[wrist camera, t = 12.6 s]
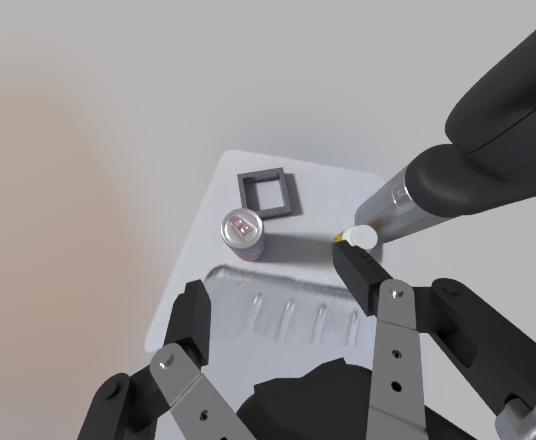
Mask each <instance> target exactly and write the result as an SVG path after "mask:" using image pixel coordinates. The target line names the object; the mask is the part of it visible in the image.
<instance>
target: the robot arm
mask: <svg viewBox="0 0 536 440" xmlns="http://www.w3.org/2000/svg"><path fill="white" fill-rule="evenodd" d="M445 133H446V135H447V137H448V138H449V140H450V141H451V142H452V143H453V144H442V145H437V146H433V147H431V148H429V149H427V150H425V151H424V152H422V153H421V154H420V155H419V156H417V157H416V158H415V159H414V160H413V161H412V162H411V163H409V164H408V165H407V166H406V167H405V168H404V169H402V170H401V171H400V172H399V173H398V174H397V175H396V176H395V177H393V178H392V179H391V180H390V181H389V182H387V183H386V184H385V185H384V186H383V187H382V188H380V189H379V190H378V191H377V192H376V193H375V194H373V195H372V196H371V197H370V198H369V199H368V200H366V201H365V202H364V203H363V204H362V205H361V206H360V207H359V208H358V210H357V211H356V215H355V223H356V225H358V226H360V225H368V226H370V227H372V228H373V229H374V230H375V232H376V233H377V237H378V241H377V243H387V242H390V241H393V240H396V239H398V238H401V237H404V236H407V235H409V234H412V233H415V232H418V231H420V230H423V229H426V228H429V227H431V226H434V225H437V224H440V223H442V222H445V221H448V220H450V219H453V218H456V217H459V216H461V215H473V214H477V213H480V212H483V211H487V210H490V209H493V208H497V207H500V206H503V205H507V204H510V203H514V202H518V201H521V200H525V199H528V198H532V197H536V30H535V31H534V32H533V33H532V34H531V35H530V36H528V37H527V38H526V39H525V40H524V41H523V42H521V43H520V44H519V45H518V46H517V47H516V48H515V49H513V50H512V51H511V52H510V53H509V54H508V55H507V56H505V57H504V58H503V59H502V60H501V61H500V62H499V63H498V64H497V65H495V66H494V67H493V68H492V69H491V70H490V71H488V72H487V73H486V74H485V75H484V76H483V77H482V78H481V79H480V80H479V81H478V82H477V83H476V84H475V85H474V86H473V87H472V88H471V89H470V90H469V91H468V92H467V93H466V94H465V95H464V96H463V97H462V98H461V100H460V101H459V102H458V103H457V104H456V106H455V107H454V109H453V110H452V112H451V113H450V115H449V117H448V119H447V121H446V124H445ZM332 248H333V263H334V267H335V269H336V271H337V273H338V275H339V276H340V277H341V279H342V280H343V282H344V283H345V285H346V286H347V288H348V289H349V291H350V292H351V294H352V295H353V297H354V298H355V299H356V301H357V302H358V304H359V305H360V307H361V308H362V310H363V311H364V313H365V314H366V316H367V317H369V316H372V315H375V317H376V318H377V326H376V336H375V347H374V359H373V371H371V370H369V369H367V368H364V367H362V366H358V365H351V364H346V362H345V360H344V358H343V357H342V358H339V359H336V360H333V361H330V362H326V363H323V364H321V365H319V366H318V367H316V368H315V369H314V370H312V371H311V372H309V373H308V374H306V375H305V376H303V377H301V378H275V379H272V380H269V381H266V382H263V383H260V384H256V385H254V391H255V393H254V394H253V395H251V396H250V397H249V398H248V399H247V400H246V401H245V402H244V403H243V404H242V405H241V407H240V408H239V410H238V411H237V413H236V414H235V413H234V411H233V410H232V409H231V407H230V406H229V405H228V404H227V402H226V401H225V400H224V399H223V398H222V396H221V395H220V394H219V393H218V391H217V390H216V389H215V388H214V387H213V385H212V384H211V383H210V381H209V380H208V379H207V378H206V376H205V375H204V374H203V373H201V367H202V366H205V365H208V357H209V340H210V322H211V301H210V298H209V295H208V293H207V291H206V289H205V287H204V285H203V283H202V281H201V280H200V279H199V280H195V281H192V282H188V283H186V287H185V292H184V293H183V294H179V295H178V297H177V299H176V300H175V302H174V304H173V308H172V313H171V316H170V320H169V324H168V328H167V332H166V336H165V340H164V345H163V347H162V348H161V349H160V350H158V351H157V353H156V354H155V355H154V357H153V358H152V360H151V363H150V364H149V365H148V366H147V367H145V368H143V369H142V370H140V371H138V372H137V373H135V374H133V375H132V376H130V377H129V376H128V375H127V374H125V373H119V374H116V375H114V376H112V377H110V378H109V379H108V380H107V381H105V382H104V383H103V384H102V386H101V387H100V388H99V389H98V391H97V392H96V394H95V396H94V398H93V400H92V403H91V405H90V408H89V410H88V413H87V416H86V418H85V421H84V423H83V426H82V428H81V431H80V433H79V436H78V439H77V440H154V438H155V432H156V425H157V419H158V417H160V416H161V415H163V414H164V413H165V412H167V411H168V410H170V412H171V414H172V415H173V417H174V419H175V421H176V423H177V424H178V426H179V428H180V430H181V431H182V433H183V435H184V437H185V439H186V440H477V439H475V438H474V437H472V436H471V435H469V434H468V433H466V432H465V431H463V430H462V429H460V428H458V427H457V426H456V425H454V424H453V423H451V422H450V421H448V420H447V419H445V418H444V417H442V416H441V415H439V414H438V413H436V412H435V411H433V410H431V409H430V408H428V407H427V406H425V405H424V394H423V380H422V367H421V352H420V337H419V333H429V335H430V336H431V337H432V338H433V339H434V341H435V342H436V343H437V344H438V346H439V347H440V348H441V349H442V350H443V352H444V353H445V354H446V355H447V356H448V358H449V359H450V360H451V361H452V363H453V364H454V365H455V366H456V368H457V369H458V370H459V371H460V372H461V374H462V375H463V376H464V377H465V379H466V380H467V381H468V382H469V383H470V385H471V386H472V387H473V388H474V389H475V391H476V392H477V393H478V394H479V396H480V397H481V398H482V399H483V400H484V402H485V403H486V404H487V405H488V406H489V408H490V409H491V410H492V411H493V413H494V414H495V415H496V416H497V418H496V420H495V427H496V431H497V434H498V436H499V437H500V439H501V440H536V342H534V341H533V340H532V339H531V338H529V337H528V336H527V335H526V334H524V333H523V332H522V331H521V330H519V329H518V328H517V327H516V326H515V325H513V324H512V323H511V322H510V321H508V320H507V319H506V318H505V317H503V316H502V315H501V314H500V313H498V312H497V311H496V310H495V309H494V308H492V307H491V306H490V305H489V304H487V303H486V302H485V301H484V300H483V299H481V298H480V297H479V296H478V295H476V294H475V293H474V292H472V291H471V290H470V289H469V288H468V287H466V286H465V285H464V284H462V283H460V282H458V281H456V280H453V279H448V278H439V279H436V280H434V281H433V283H432V286H431V287H411V286H410V285H408V284H407V283H405V282H403V281H401V280H397V279H393V278H392V277H391V276H390V275H389V274H388V273H387V272H386V271H385V270H384V269H383V268H382V267H381V266H380V264H379V263H378V262H377V261H375V259H374V258H373V257H372V256H370V254H369V253H368V252H367V251H366V250H365V249H363V248H361V247H359V246H357V245H355V246H351V245H350V243H349V242H348V241H347V240H341V241H337V242H334V243H333V244H332Z"/></svg>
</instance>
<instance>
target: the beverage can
mask: <svg viewBox="0 0 536 440" xmlns="http://www.w3.org/2000/svg"><path fill="white" fill-rule="evenodd" d="M221 233H222V238H223V240H224V242H225V243H226V244H227V245H228V246H229V247H230V248H231V249H232V251H233V252H234V253H235V254H236V255H237V256H238V257H239V258H241V259H242V260H244V261H248V262H251V261H255V260H257V259H259V258H260V257H261V256H262V255H263V253H264V251H265V233H264V224H263V221H262V220H261V218H260V217H259V216H258V215H257V214H256V213H255V212H254V211H252V210H250V209H246V208H239V209H235V210H233V211H231V212H230V213H228V214H227V215H226V217H225V218H224V220H223V222H222V226H221Z"/></svg>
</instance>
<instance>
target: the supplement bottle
mask: <svg viewBox="0 0 536 440" xmlns="http://www.w3.org/2000/svg"><path fill="white" fill-rule="evenodd" d="M341 240H347V241H348V242H349V243H350V245H351V246H355V245H357V246H359V247H361V248H363V249H365V250H366V251H367V252H368V253H370V252H371V250H372V249H373V247H374V246H375V245H376V244H377V241H378V237H377V233H376V232H375V230H374V229H373V228H372V227H370V226H368V225H360V226H358V225H355V226H351V227H349V228H347V229H346V230H345V231H343V232H342V233H340V234H339V235H338V236H336V237H335V238H334V240H333V243H334V242H337V241H341ZM333 243H332V244H333ZM332 250H333V248H332Z"/></svg>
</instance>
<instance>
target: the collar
mask: <svg viewBox="0 0 536 440" xmlns="http://www.w3.org/2000/svg"><path fill="white" fill-rule="evenodd" d="M237 177H238V183H239V190H240V196H241V203H242V208H246V209H248V206H247V200H246V194H245V187H244V183H250V182H256V181H263V180H269V179H275V178H278V179H279V184H280V189H281V193H282V198H283V203H284V207H278V208H272V209H266V210H260V211H254V212H255V213H256V214H257V215H258V216H259V217H260V218H261V219H264V218H270V217H276V216H282V215H288V214H291V211H292V208H291V203H290V199H289V194H288V190H287V185H286V181H285V176H284V172H283V167H282V168H276V169H269V170H263V171H257V172H250V173H244V174H237Z"/></svg>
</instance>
